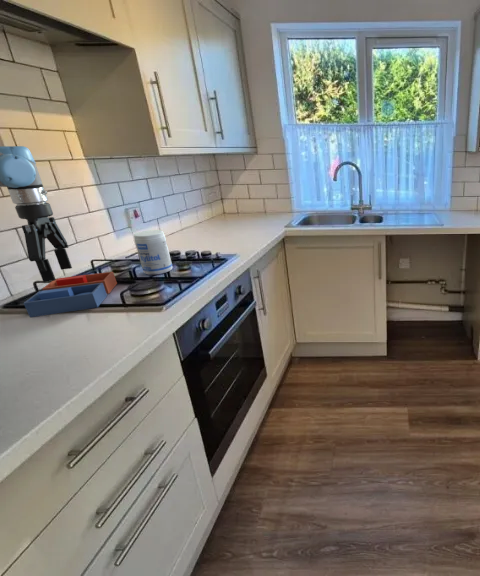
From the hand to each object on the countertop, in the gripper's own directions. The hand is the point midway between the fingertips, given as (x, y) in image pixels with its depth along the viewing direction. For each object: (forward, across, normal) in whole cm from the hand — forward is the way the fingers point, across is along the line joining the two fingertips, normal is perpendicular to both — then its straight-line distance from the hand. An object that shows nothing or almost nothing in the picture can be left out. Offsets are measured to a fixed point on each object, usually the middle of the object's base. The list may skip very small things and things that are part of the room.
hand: (58, 274), depth 112 cm
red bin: (+7, +2, -4) cm, 9 cm away
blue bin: (+8, -9, -4) cm, 12 cm away
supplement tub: (+7, +15, -24) cm, 29 cm away
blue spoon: (+7, -9, -4) cm, 12 cm away
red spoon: (+7, +2, -4) cm, 9 cm away
